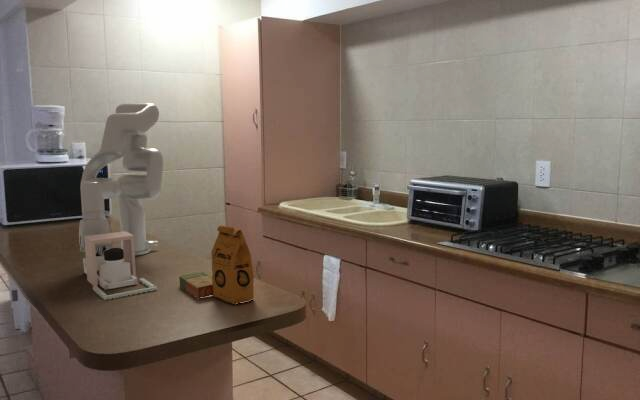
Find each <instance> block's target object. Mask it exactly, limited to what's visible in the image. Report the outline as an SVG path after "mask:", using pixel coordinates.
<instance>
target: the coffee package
mask: <svg viewBox="0 0 640 400" xmlns="http://www.w3.org/2000/svg"><path fill="white" fill-rule="evenodd" d="M216 230H217V232H218V234H217V237H216V239H215V242H214V245H213V246H212V249H211V252H210V253H211V254H210V255H211V271H212V276H211V277H212V283H213V296H214V297H215V298H218V299H220V300H223V301H224V302H225V303H228V302H230V303H229V304H231V303H232V304H231V305H233V304H236V303H240V302H244V301H249V300H251V299H253V298H254V296H255V295H254V294H255V292H254V281H255V280H254V278H255V277H254V271H253V270H254V269H253V262H252V255H251V252H250V249H249V246H248V244H247V241H246V238H245V236H244V233H243V231H242V229H238V228H235V227H232V226H231V227H230V226H227V225H218V226H217V229H216ZM254 299H255V298H254Z"/></svg>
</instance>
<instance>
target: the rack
mask: <svg viewBox="0 0 640 400" xmlns="http://www.w3.org/2000/svg"><path fill="white" fill-rule="evenodd" d="M82 263H83V272H84V274H86V275H87V268H86V257H84V258H82ZM103 263H105V262H104V254H102V255H101V256H96V266H97V272H99V264H103ZM97 281H98V286H100V287H101V288H103V289H104V290H111V289H117V288H123V287H128V286H133V285H134V286H135V285H138V277H137V276H136V277H135V276H133V275H132V274H131V280H126V281H120V282H115V283H109V284H108V283H107V282H106V281H105V280H104V279H100V277H99V274H97Z"/></svg>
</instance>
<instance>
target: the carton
mask: <svg viewBox="0 0 640 400" xmlns="http://www.w3.org/2000/svg"><path fill="white" fill-rule="evenodd" d="M179 287H180V288H181V287H182V288H184V289H185V290H187V291H188V292H189V293H191V294H192V295H194V296H196V297H197V298H200V297H205V296H209V295H213V283H212V276H210V275H209V274H207V273H205V272H203V271H200V272H195V273H189V274H184V275H180V276H179ZM182 288H181V289H182ZM184 289H183V290H184ZM185 290H184V291H185ZM188 292H187V293H188ZM189 293H188V294H189ZM191 294H190V295H191ZM192 295H191V296H192ZM194 296H193V297H194ZM197 298H196V299H197Z"/></svg>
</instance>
